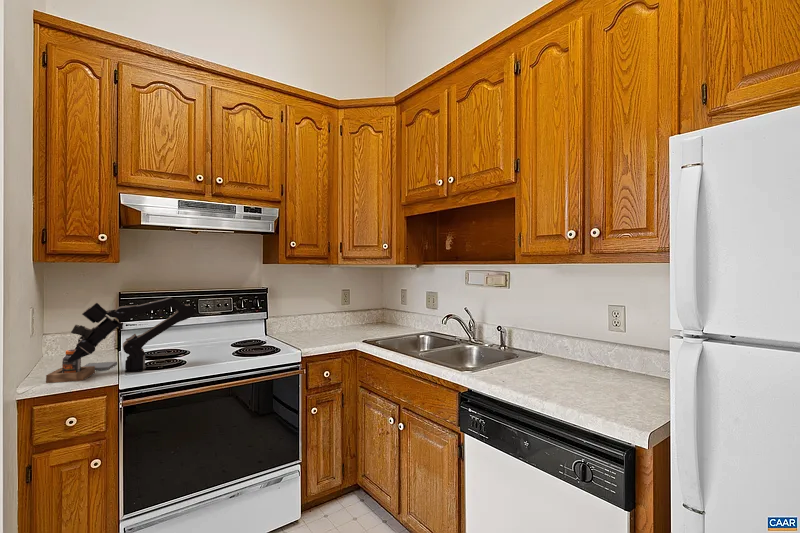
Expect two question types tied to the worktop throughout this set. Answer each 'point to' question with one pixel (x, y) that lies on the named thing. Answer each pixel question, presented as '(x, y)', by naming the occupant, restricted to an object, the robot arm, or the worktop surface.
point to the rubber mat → (102, 365)
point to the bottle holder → (70, 375)
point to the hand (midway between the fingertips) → (68, 359)
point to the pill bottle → (70, 363)
